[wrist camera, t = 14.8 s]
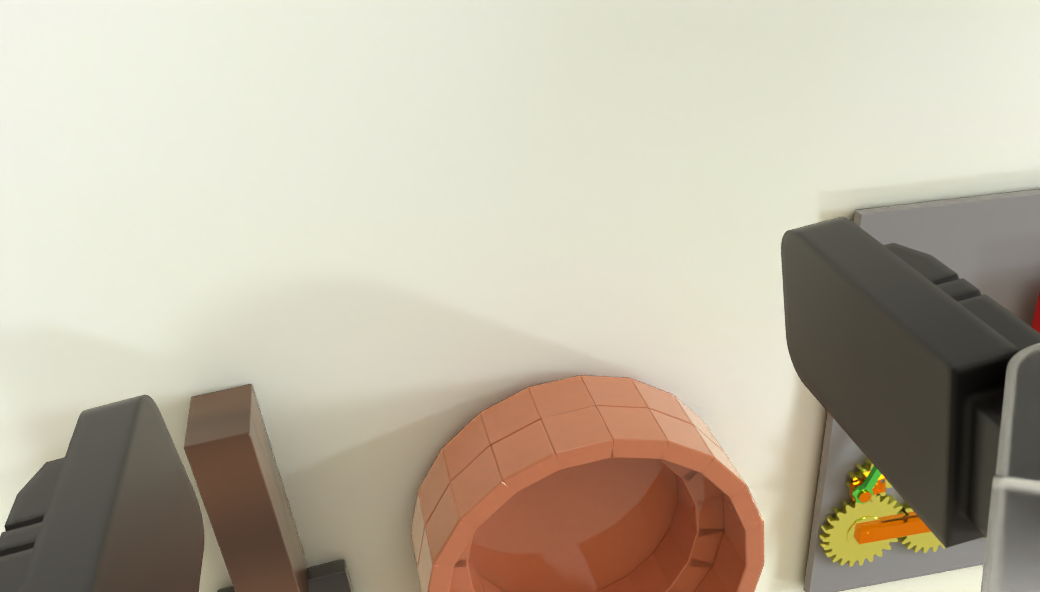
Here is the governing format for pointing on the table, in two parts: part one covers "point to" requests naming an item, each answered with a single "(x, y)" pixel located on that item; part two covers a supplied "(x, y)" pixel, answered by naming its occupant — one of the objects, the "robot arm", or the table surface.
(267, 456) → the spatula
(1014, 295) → the gear board
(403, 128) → the table surface
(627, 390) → the bowl
